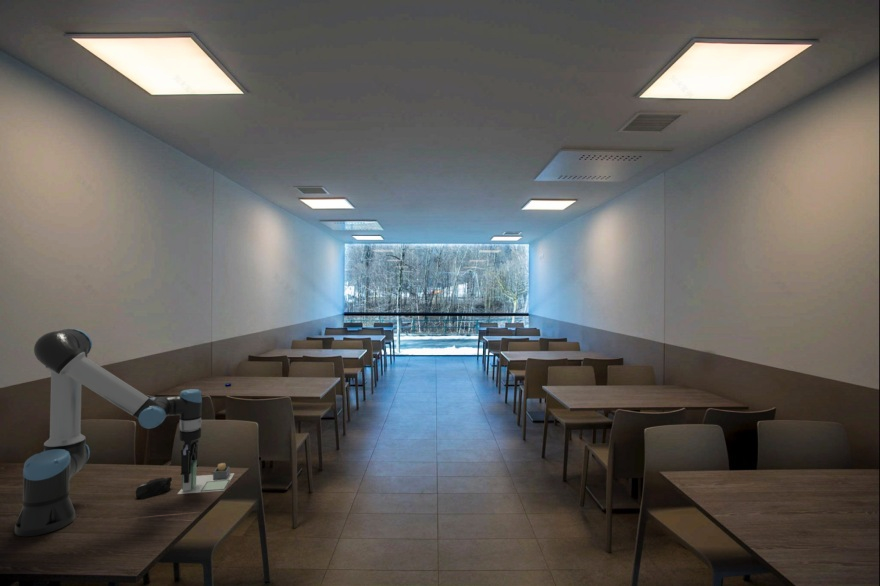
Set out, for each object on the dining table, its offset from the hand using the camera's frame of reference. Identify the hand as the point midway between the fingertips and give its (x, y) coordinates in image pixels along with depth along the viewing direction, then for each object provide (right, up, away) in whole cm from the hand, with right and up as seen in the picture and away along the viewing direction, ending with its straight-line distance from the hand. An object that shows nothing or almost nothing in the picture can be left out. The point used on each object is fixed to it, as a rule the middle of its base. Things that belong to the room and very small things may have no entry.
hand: (189, 487), depth 174 cm
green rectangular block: (0, -1, 0) cm, 1 cm away
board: (+4, -1, +6) cm, 7 cm away
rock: (-12, -1, -3) cm, 13 cm away
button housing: (+7, -1, +12) cm, 14 cm away
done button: (+7, +1, +12) cm, 14 cm away
